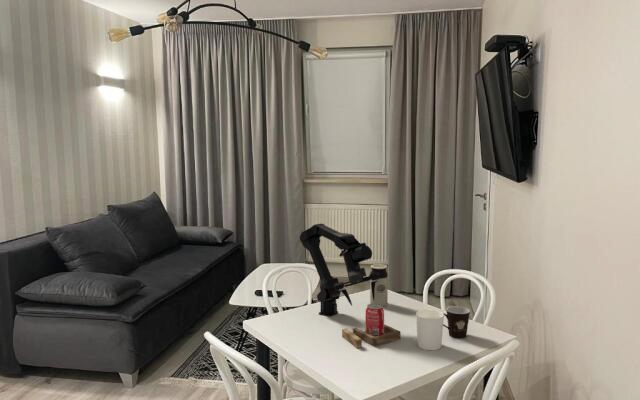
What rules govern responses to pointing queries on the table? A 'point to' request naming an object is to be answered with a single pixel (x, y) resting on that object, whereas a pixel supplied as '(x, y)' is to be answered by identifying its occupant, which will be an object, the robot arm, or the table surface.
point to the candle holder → (429, 329)
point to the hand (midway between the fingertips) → (362, 302)
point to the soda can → (374, 320)
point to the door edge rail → (352, 338)
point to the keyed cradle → (388, 336)
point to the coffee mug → (457, 321)
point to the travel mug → (380, 285)
